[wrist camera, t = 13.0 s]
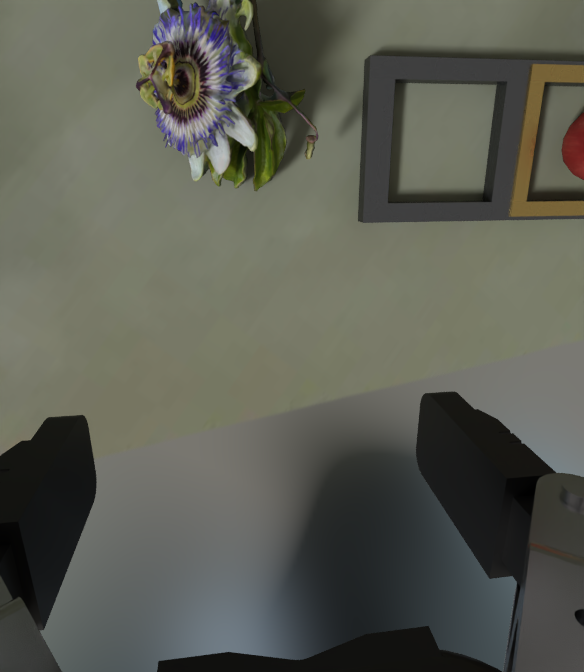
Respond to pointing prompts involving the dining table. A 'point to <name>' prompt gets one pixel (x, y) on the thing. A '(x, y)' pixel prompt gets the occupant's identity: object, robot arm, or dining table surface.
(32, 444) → the robot arm
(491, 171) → the grey yellow flat frame
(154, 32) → the passion flower
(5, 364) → the dining table surface
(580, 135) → the onion
